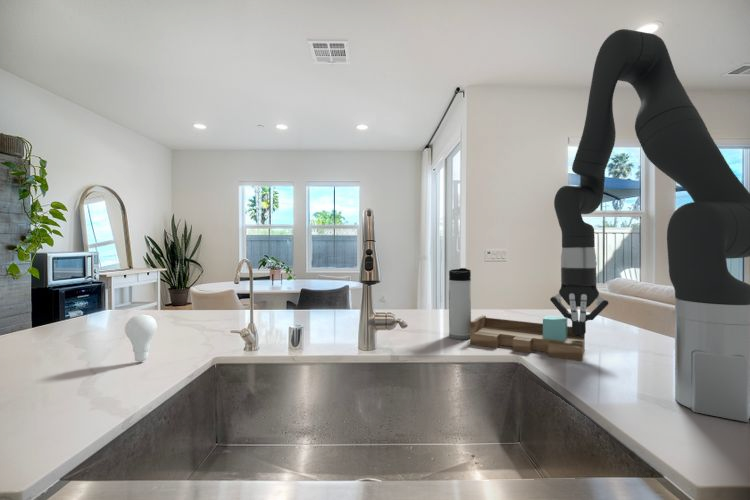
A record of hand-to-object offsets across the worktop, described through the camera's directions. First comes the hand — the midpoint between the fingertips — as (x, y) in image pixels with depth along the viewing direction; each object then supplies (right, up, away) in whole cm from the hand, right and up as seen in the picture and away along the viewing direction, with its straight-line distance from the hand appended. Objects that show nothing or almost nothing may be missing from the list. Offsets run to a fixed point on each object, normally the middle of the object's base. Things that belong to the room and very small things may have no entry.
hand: (579, 336), depth 86 cm
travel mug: (-26, -4, +16) cm, 30 cm away
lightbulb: (-104, -5, -6) cm, 104 cm away
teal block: (-4, -1, +3) cm, 5 cm away
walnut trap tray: (-11, -4, +5) cm, 13 cm away
